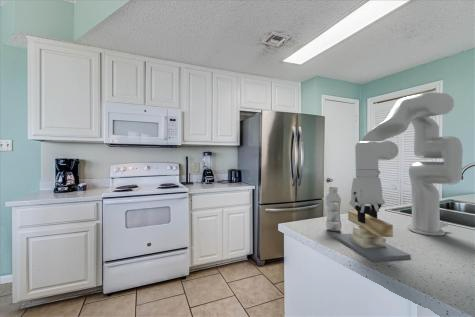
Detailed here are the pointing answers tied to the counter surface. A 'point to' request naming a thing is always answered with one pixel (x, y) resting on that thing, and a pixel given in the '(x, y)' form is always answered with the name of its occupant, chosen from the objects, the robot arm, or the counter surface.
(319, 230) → the counter surface
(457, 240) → the counter surface
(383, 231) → the oak bar
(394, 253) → the slate board
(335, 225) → the plastic bottle
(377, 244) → the stepped block
